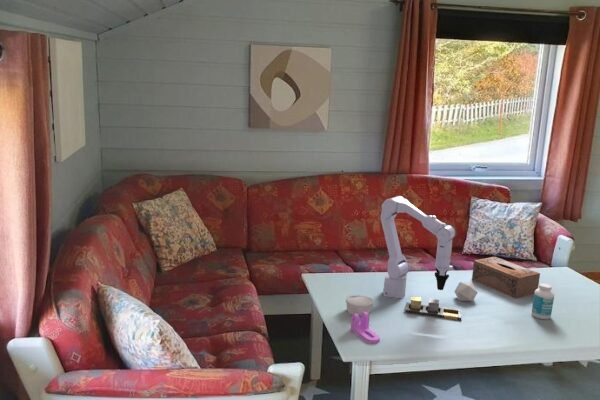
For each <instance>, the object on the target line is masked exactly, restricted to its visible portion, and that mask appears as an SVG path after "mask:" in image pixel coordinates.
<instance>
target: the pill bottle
mask: <svg viewBox="0 0 600 400" xmlns="http://www.w3.org/2000/svg"><path fill="white" fill-rule="evenodd" d="M552 288H553V287H552V285H551V284H548V283H543V282H541V283H539V285H538V289H536V290H535V293H534V294H533V300H532V305H531V306H532V309H531V315H532V316H533V317H535V318H536V319H539V318H540V320H549V319H551V317H552V312H553V305H554V299H555V293H554V291H552Z"/></svg>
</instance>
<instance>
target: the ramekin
mask: <svg viewBox="0 0 600 400" xmlns="http://www.w3.org/2000/svg"><path fill="white" fill-rule="evenodd" d="M345 303H346V310H347V312H348V313H349V314H350V315H351V316H352V314H356V313H357V314H358V315H359V317H361V313H362V312H367V313H368V314H369V315H370V313H372V309H373V305H374V300H373V299H372V298H371V297H369V296H367V295H363V294H362V295H360V294H354V295H348V296H347V297H346V298H345Z"/></svg>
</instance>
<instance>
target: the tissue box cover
mask: <svg viewBox="0 0 600 400" xmlns="http://www.w3.org/2000/svg"><path fill="white" fill-rule="evenodd" d="M472 265H473V266H472V277H471V280H472V281H474V282H476V283H478V284H481V285H483V286H486V287H488V288H490V289H492V290H495V291H497V292H500V293H502V294H504V295H507V296H509V297H511V298H514V299H515V300H516V299H521V298H524V297H529V296H532V295H533V296H534V293H535V290H536V289H538V288H539V284H540V278H541V277H540V276H541V273H540V272H538V271H535V270H532V269H530V268H527V267H524V266H521V265H519V264H516V263H513V262H511V261H507V260H505V259H503V258H499V257H497V256H490V257H486V258H480V259H474V260H473V264H472Z"/></svg>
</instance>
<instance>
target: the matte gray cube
mask: <svg viewBox="0 0 600 400" xmlns="http://www.w3.org/2000/svg"><path fill="white" fill-rule="evenodd" d="M439 307H440V299H435V298H428V312H433V313H438V309H439Z"/></svg>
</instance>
